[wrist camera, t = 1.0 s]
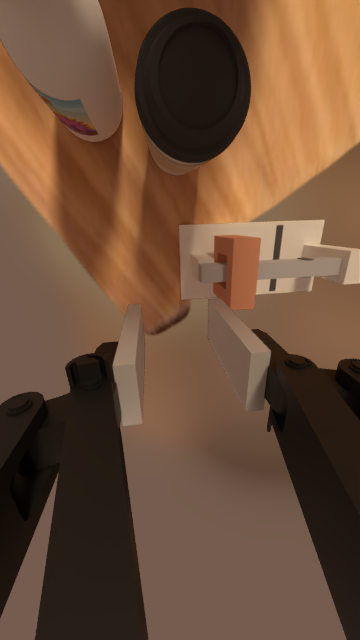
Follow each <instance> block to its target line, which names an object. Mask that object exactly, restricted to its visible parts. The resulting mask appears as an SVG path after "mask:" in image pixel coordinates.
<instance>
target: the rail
mask: <svg viewBox="0 0 360 640" xmlns="http://www.w3.org/2000/svg"><path fill="white" fill-rule="evenodd" d="M324 221H325V220H306V221H277V222H248V223H220V224H192V225H179V253H180V284H181V300H186V299H201V298H215V297H217V296H216V295H215V294H214V293H213V283H214V282H226V271H227V262H221V263H214V236H219V235H241V236H250V237H258V238H261V246H260V256H259V267H258V277H257V288H256V295H259V294H272V293H273V294H274V293H288V292H303V291H311V290H312V285H313V279H314V276H318V277H321V278H324V279H327V280H331V281H334V282H337V283H341V284H357V283H360V249H354V248H346V247H337V246H328V245H320V241H321V237H322V232H323V226H324Z"/></svg>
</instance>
